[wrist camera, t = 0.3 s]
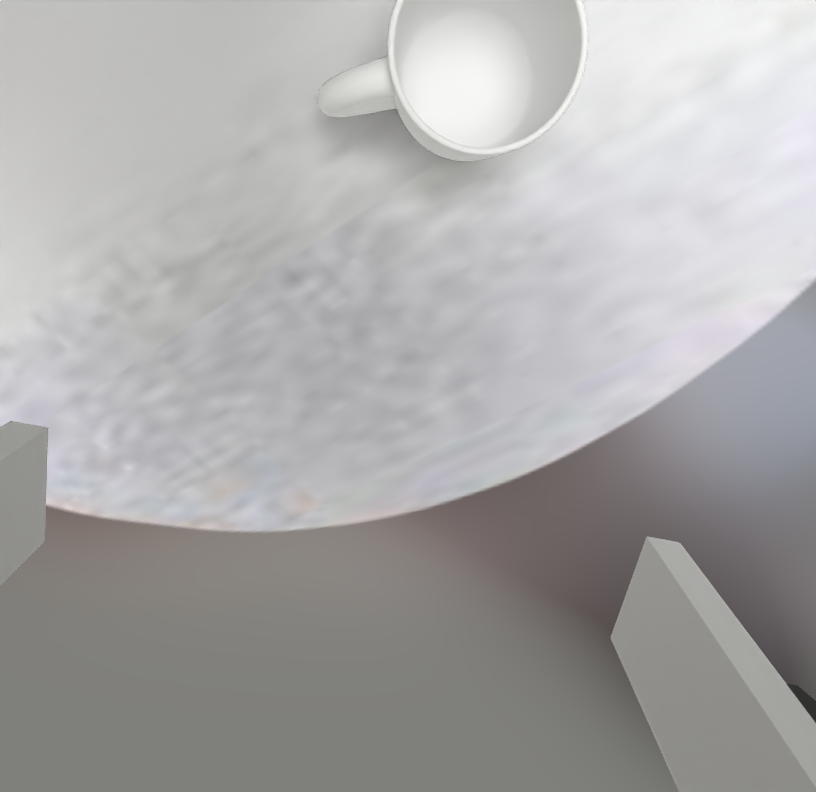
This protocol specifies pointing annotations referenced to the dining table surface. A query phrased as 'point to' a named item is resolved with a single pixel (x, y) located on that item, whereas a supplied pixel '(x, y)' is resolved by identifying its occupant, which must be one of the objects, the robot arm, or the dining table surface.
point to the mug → (471, 73)
